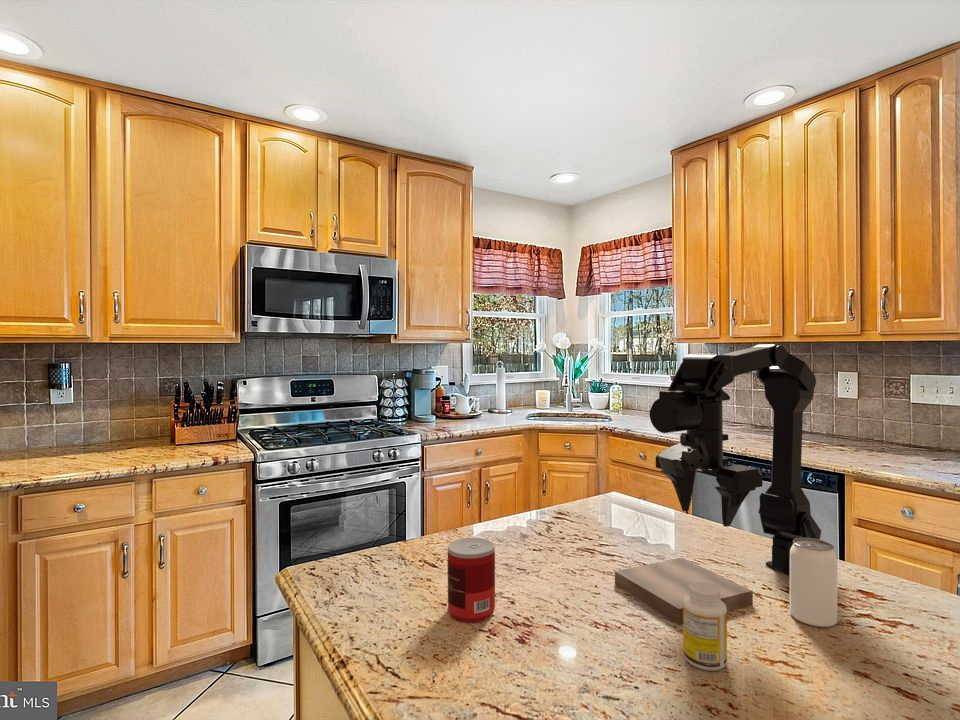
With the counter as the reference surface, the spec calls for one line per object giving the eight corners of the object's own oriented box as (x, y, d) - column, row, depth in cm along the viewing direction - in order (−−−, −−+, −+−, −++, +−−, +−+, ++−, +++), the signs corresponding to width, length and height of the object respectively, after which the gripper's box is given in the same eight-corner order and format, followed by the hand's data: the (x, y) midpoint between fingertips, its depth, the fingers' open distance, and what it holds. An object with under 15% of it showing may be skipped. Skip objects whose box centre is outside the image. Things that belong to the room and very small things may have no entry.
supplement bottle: (704, 646, 78) (704, 576, 78) (736, 667, 73) (736, 591, 73) (674, 655, 76) (674, 582, 76) (704, 676, 71) (704, 599, 71)
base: (682, 570, 105) (682, 557, 105) (752, 605, 91) (752, 590, 90) (614, 584, 99) (614, 571, 99) (679, 624, 84) (679, 608, 84)
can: (844, 630, 82) (845, 552, 82) (798, 626, 84) (798, 549, 83) (826, 610, 89) (827, 538, 88) (783, 607, 90) (783, 535, 90)
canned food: (500, 604, 91) (500, 540, 91) (485, 627, 84) (485, 556, 84) (458, 598, 94) (458, 535, 94) (440, 619, 86) (440, 551, 86)
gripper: (631, 424, 98) (632, 509, 98) (710, 439, 81) (711, 543, 81) (679, 420, 102) (680, 502, 103) (764, 434, 85) (765, 532, 85)
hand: (705, 518), depth 93 cm, fingers open, 9 cm apart
